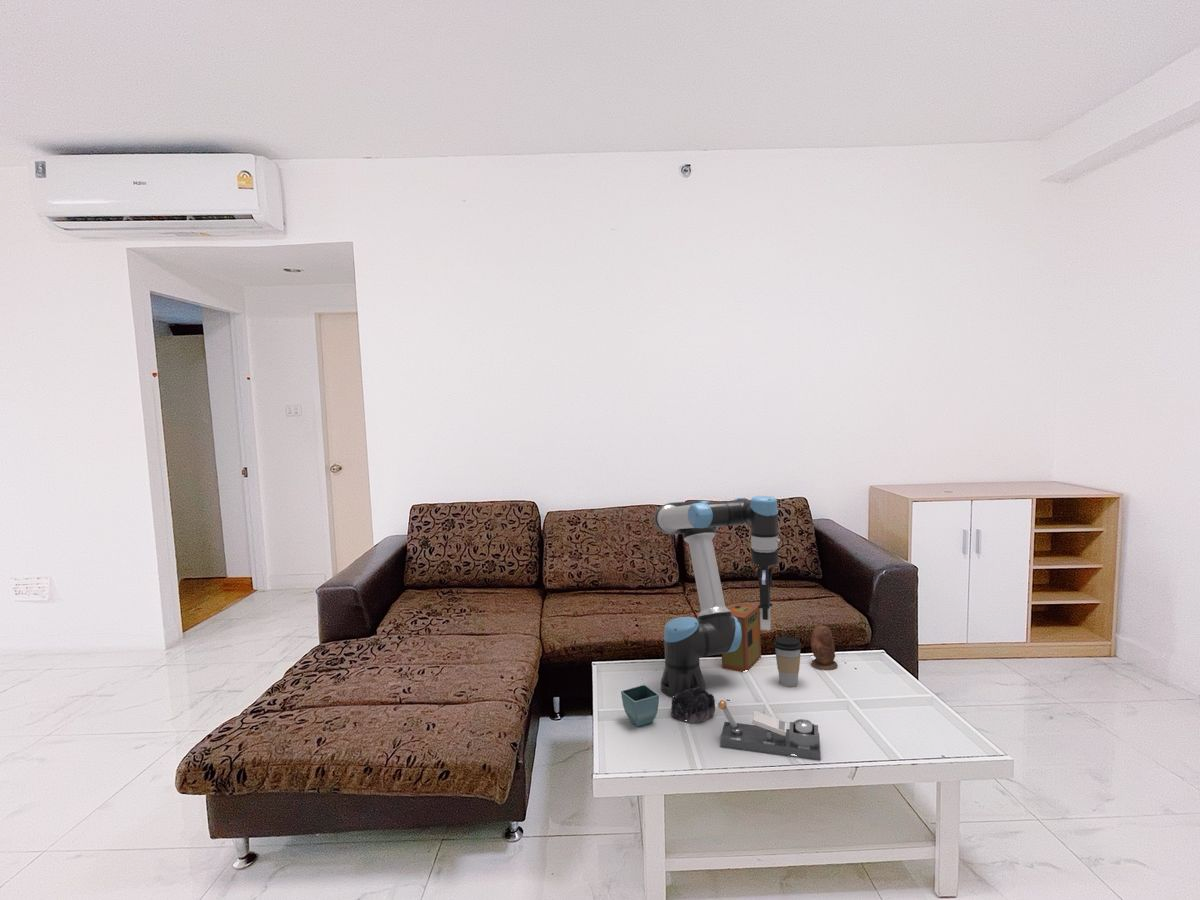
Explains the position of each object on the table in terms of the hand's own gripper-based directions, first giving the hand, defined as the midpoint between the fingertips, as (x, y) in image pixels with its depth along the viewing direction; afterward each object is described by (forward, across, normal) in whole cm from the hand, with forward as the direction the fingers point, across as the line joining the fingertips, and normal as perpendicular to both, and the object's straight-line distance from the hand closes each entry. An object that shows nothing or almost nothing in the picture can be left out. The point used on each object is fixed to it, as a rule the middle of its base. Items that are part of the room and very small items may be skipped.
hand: (765, 629), depth 176 cm
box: (+30, +46, +12) cm, 56 cm away
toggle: (+26, -11, +8) cm, 29 cm away
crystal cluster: (+30, +1, +22) cm, 37 cm away
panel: (+29, -11, -2) cm, 31 cm away
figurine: (+30, +50, -17) cm, 61 cm away
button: (+25, -11, -11) cm, 30 cm away
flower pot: (+29, -8, +36) cm, 47 cm away
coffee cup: (+30, +31, -5) cm, 43 cm away
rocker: (+23, -11, -2) cm, 25 cm away
